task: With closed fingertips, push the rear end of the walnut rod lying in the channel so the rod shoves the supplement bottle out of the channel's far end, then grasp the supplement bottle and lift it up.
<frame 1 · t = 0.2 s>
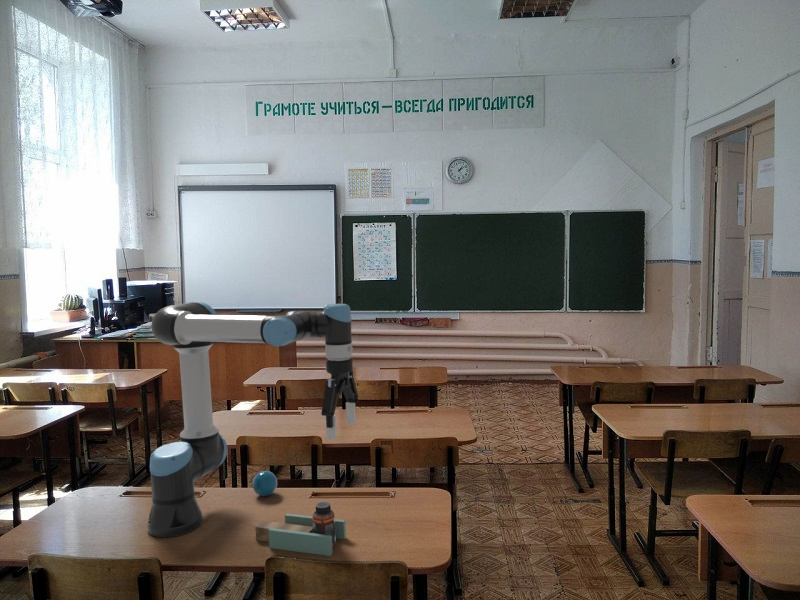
hand: (341, 431, 172), 28 cm above the table, fingers open, 13 cm apart
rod: (285, 540, 166), on the table
channel: (308, 542, 163), on the table
supplement bottle: (324, 545, 162), on the table
ball: (265, 495, 196), on the table
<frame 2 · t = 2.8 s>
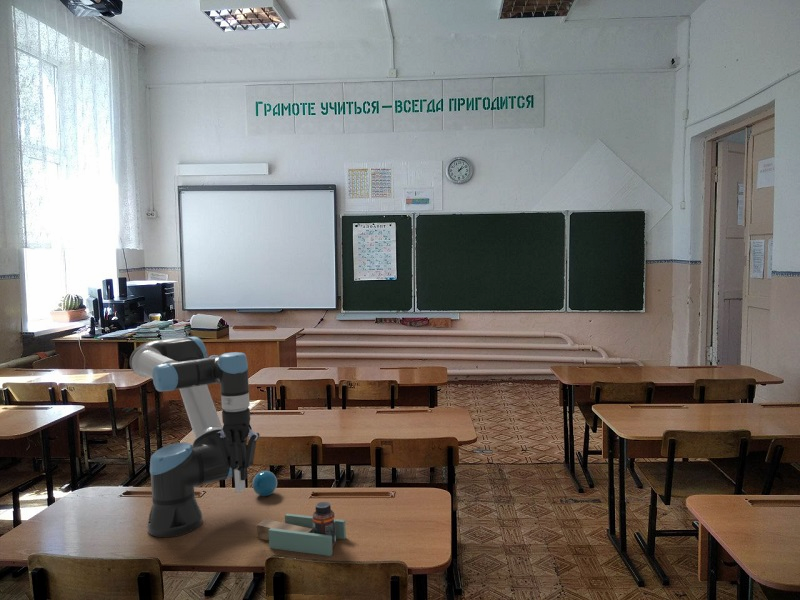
hand: (240, 490, 168), 13 cm above the table, fingers closed
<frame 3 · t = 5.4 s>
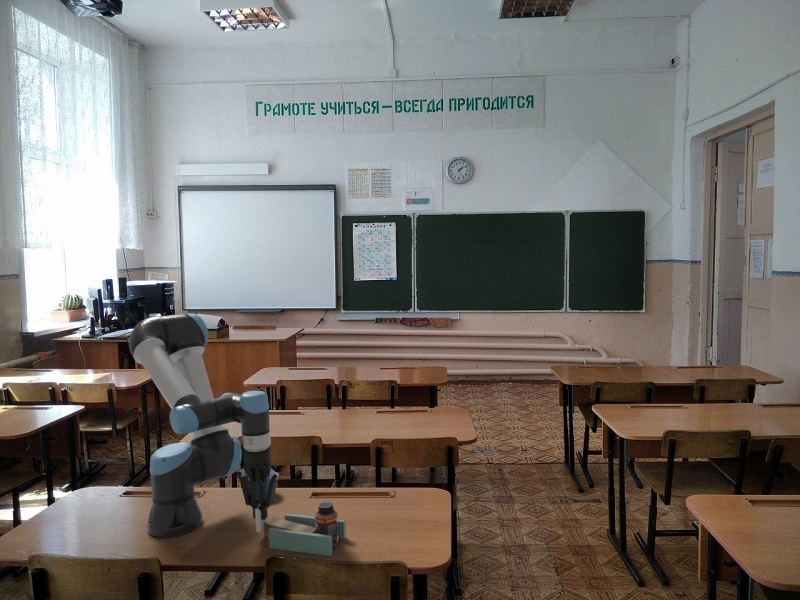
hand: (261, 529, 167), 2 cm above the table, fingers closed
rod: (291, 539, 165), on the table, touching supplement bottle, gripper
supplement bottle: (327, 545, 162), on the table, touching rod
everything else where it was.
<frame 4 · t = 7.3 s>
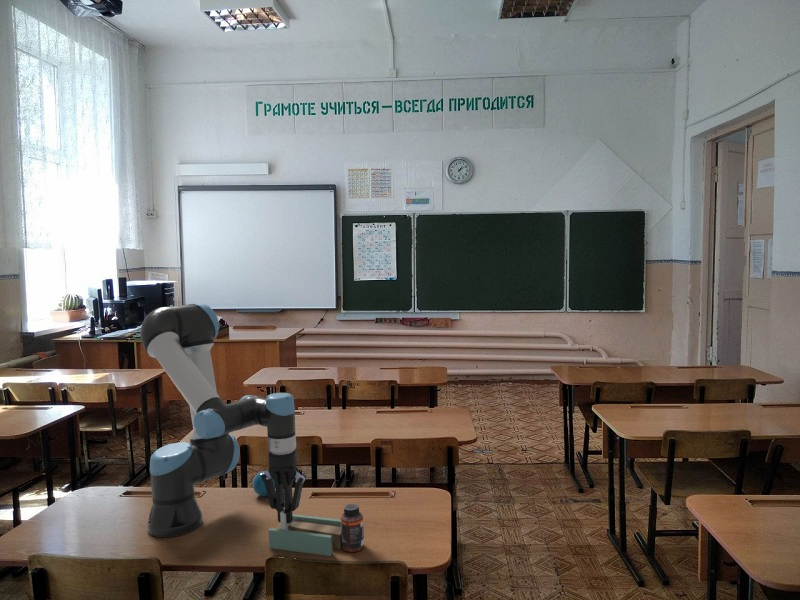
hand: (285, 533, 165), 2 cm above the table, fingers closed
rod: (317, 541, 164), on the table, touching gripper
supplement bottle: (353, 548, 160), on the table
everything else where it was.
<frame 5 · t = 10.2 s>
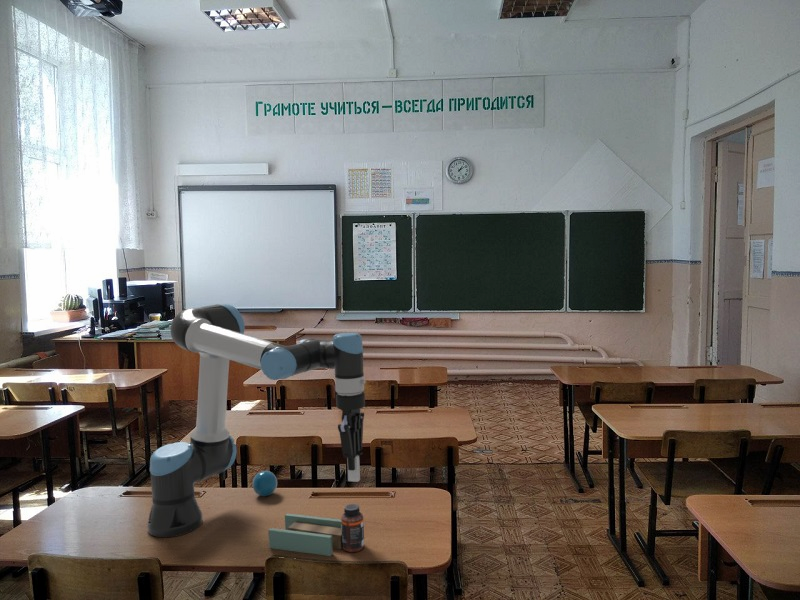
hand: (354, 480, 158), 19 cm above the table, fingers closed
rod: (317, 542, 164), on the table
everything else where it was.
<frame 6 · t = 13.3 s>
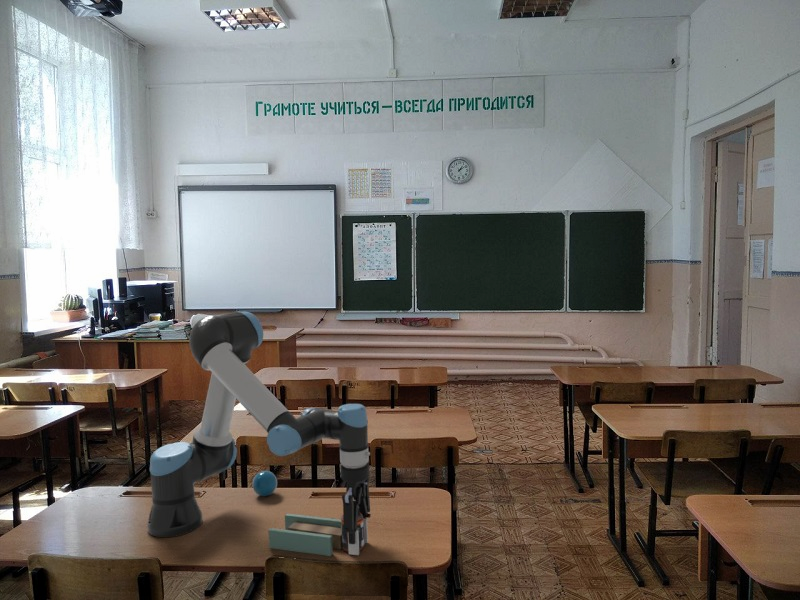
hand: (358, 547, 159), 0 cm above the table, fingers closed on supplement bottle, 6 cm apart
supplement bottle: (353, 548, 160), on the table, touching gripper
everything else where it was.
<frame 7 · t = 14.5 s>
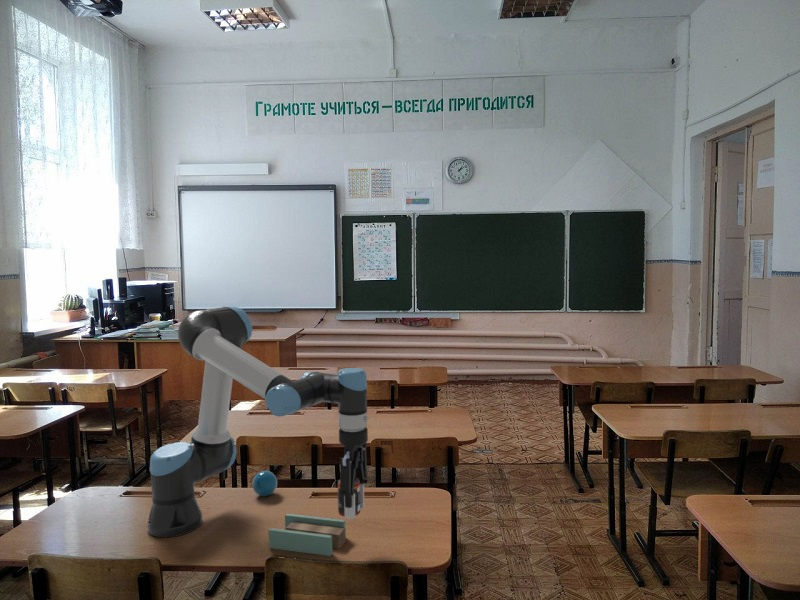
hand: (354, 512, 159), 10 cm above the table, fingers closed on supplement bottle, 6 cm apart
supplement bottle: (349, 513, 159), point 9 cm above the table, touching gripper
everything else where it was.
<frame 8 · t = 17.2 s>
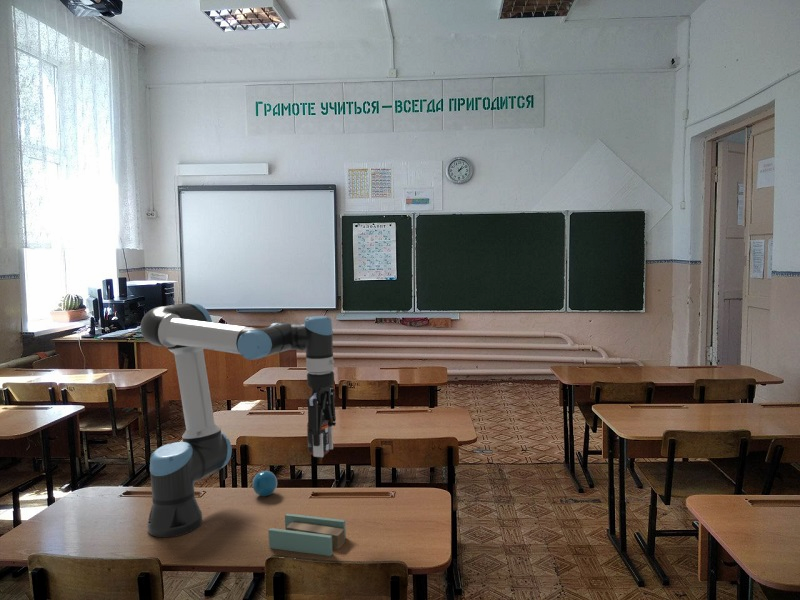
hand: (323, 452, 169), 23 cm above the table, fingers closed on supplement bottle, 6 cm apart
supplement bottle: (318, 453, 169), point 22 cm above the table, touching gripper
everything else where it was.
at the end: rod inside the target area (2.7 cm from its centre), on the table; the gripper is holding supplement bottle; supplement bottle point 22.3 cm above the table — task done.
